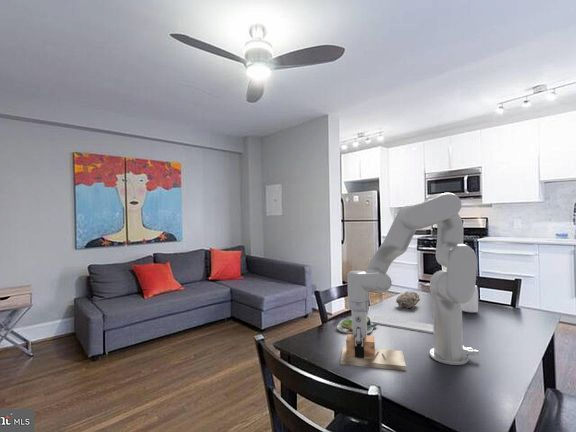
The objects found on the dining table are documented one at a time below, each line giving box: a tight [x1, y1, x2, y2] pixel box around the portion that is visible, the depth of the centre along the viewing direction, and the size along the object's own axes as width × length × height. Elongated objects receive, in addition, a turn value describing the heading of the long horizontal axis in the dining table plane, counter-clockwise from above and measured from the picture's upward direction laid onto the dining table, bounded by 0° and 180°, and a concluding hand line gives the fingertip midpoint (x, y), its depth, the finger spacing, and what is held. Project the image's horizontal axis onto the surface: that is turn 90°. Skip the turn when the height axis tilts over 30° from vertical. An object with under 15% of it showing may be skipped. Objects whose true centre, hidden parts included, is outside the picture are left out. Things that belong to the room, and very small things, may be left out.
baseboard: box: [369, 315, 434, 335], centre depth 149 cm, size 31×3×12 cm
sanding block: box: [345, 334, 376, 359], centre depth 114 cm, size 10×6×6 cm, turn 75°
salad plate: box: [336, 316, 378, 335], centre depth 143 cm, size 19×18×5 cm
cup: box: [461, 284, 479, 313], centre depth 163 cm, size 8×8×14 cm
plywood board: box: [340, 345, 407, 371], centre depth 113 cm, size 22×12×2 cm, turn 75°
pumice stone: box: [395, 291, 421, 309], centre depth 176 cm, size 14×12×8 cm
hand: (359, 352), depth 115 cm, fingers closed on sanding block, 6 cm apart
